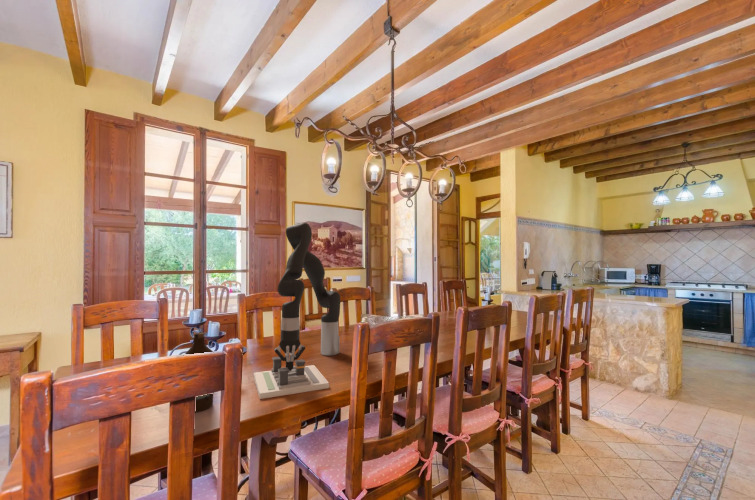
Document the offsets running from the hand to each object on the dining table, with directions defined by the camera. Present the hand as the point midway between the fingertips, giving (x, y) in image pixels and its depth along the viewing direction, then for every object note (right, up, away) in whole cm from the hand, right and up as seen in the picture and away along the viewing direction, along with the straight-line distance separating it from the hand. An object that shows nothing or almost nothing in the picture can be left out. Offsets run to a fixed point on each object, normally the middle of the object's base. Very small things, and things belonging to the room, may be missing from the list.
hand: (289, 370), depth 139 cm
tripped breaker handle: (+4, -3, +2) cm, 5 cm away
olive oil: (-26, -5, -23) cm, 35 cm away
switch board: (0, -5, 0) cm, 5 cm away
